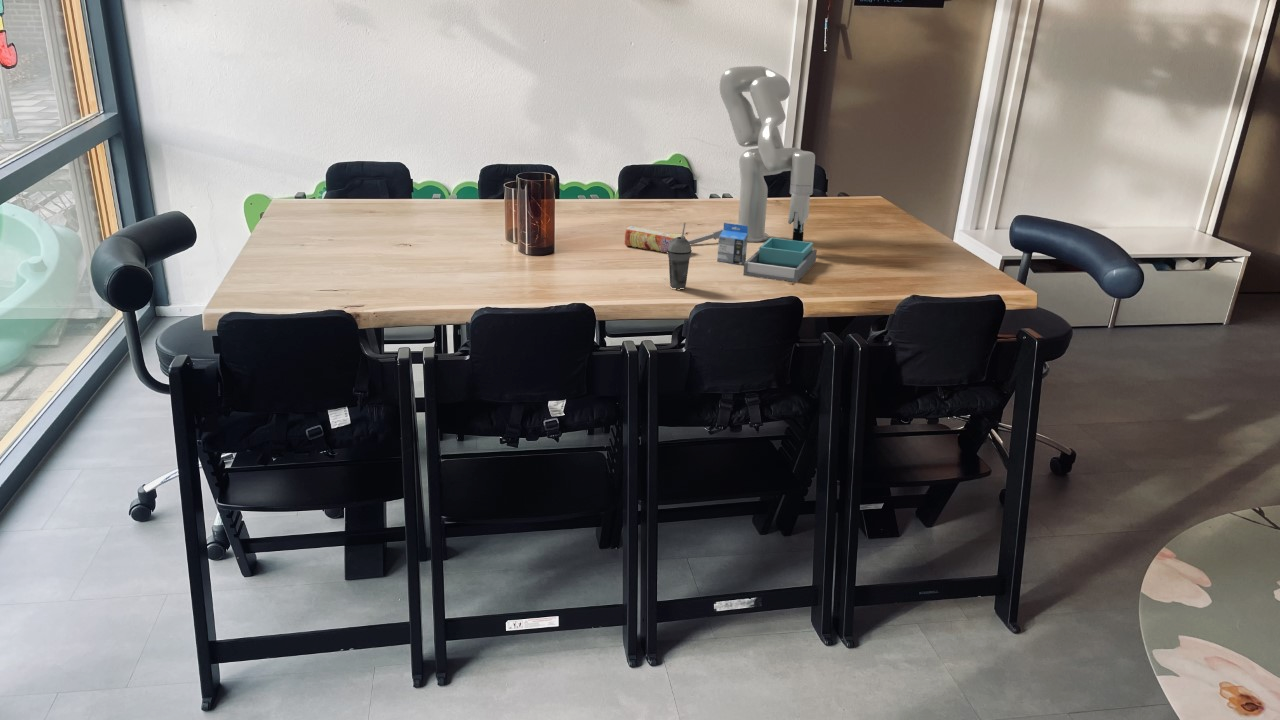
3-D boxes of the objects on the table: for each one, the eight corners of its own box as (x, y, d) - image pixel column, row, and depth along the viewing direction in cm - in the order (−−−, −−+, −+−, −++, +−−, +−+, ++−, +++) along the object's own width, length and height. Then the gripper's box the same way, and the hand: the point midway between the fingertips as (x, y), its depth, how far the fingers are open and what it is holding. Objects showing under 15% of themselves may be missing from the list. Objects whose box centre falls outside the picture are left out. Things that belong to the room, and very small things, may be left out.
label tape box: (716, 261, 327) (718, 224, 323) (721, 258, 331) (723, 222, 326) (741, 265, 324) (744, 228, 319) (746, 262, 327) (748, 225, 322)
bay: (743, 275, 313) (744, 262, 312) (765, 255, 336) (766, 243, 334) (796, 282, 307) (798, 270, 306) (815, 261, 330) (816, 250, 328)
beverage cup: (664, 284, 302) (667, 219, 295) (688, 284, 303) (691, 219, 295) (667, 291, 295) (669, 225, 288) (691, 291, 296) (694, 225, 288)
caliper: (729, 241, 352) (730, 224, 350) (731, 242, 352) (732, 224, 349) (678, 246, 344) (679, 228, 342) (680, 247, 343) (681, 229, 341)
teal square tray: (758, 262, 323) (759, 247, 321) (769, 252, 335) (770, 237, 333) (801, 268, 318) (803, 252, 316) (811, 257, 330) (813, 242, 328)
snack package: (687, 252, 337) (687, 233, 335) (678, 257, 332) (679, 237, 329) (632, 243, 346) (632, 224, 344) (622, 247, 341) (623, 228, 338)
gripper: (795, 184, 338) (792, 237, 345) (784, 192, 325) (781, 247, 332) (817, 186, 336) (813, 239, 342) (807, 194, 323) (803, 249, 329)
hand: (797, 243), depth 337 cm, fingers closed
